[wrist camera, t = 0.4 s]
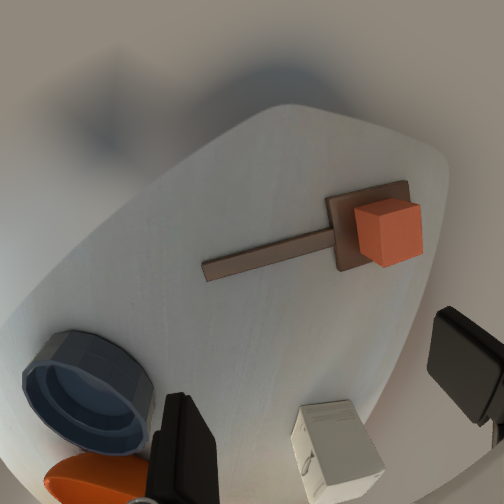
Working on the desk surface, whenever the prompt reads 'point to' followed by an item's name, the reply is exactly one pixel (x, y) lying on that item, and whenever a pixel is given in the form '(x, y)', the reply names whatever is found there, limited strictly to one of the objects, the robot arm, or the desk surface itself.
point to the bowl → (97, 479)
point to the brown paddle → (314, 236)
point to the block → (389, 231)
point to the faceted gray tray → (90, 394)
